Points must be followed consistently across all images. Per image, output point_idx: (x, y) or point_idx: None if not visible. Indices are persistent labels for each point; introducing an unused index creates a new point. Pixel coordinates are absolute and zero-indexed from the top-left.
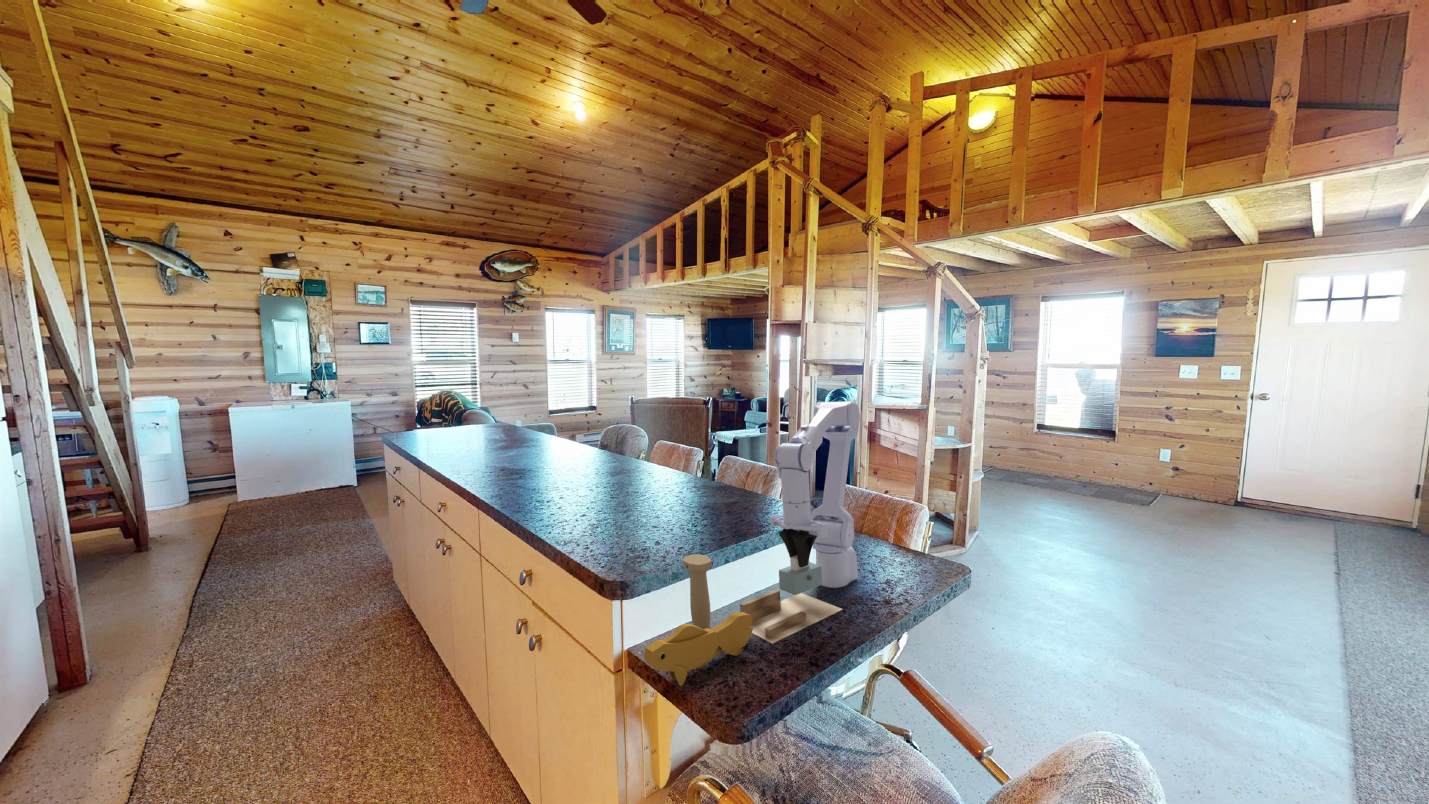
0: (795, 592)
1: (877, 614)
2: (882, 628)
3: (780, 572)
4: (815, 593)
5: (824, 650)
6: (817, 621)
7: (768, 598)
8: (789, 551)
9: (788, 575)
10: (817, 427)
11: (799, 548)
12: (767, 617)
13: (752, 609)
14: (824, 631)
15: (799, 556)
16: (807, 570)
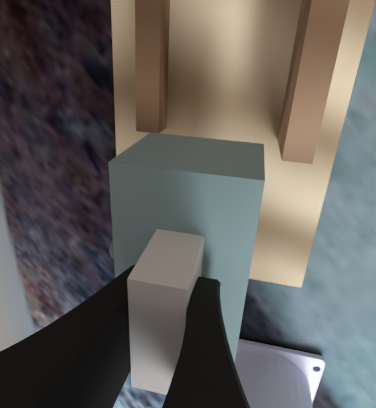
0: (146, 136)
1: (67, 288)
2: (12, 234)
3: (248, 173)
4: (273, 318)
5: (6, 25)
6: (116, 145)
7: (296, 72)
8: (200, 341)
9: (170, 165)
10: None
11: (11, 354)
12: (278, 40)
13: None
14: (88, 128)
15: (89, 305)
16: (119, 272)
